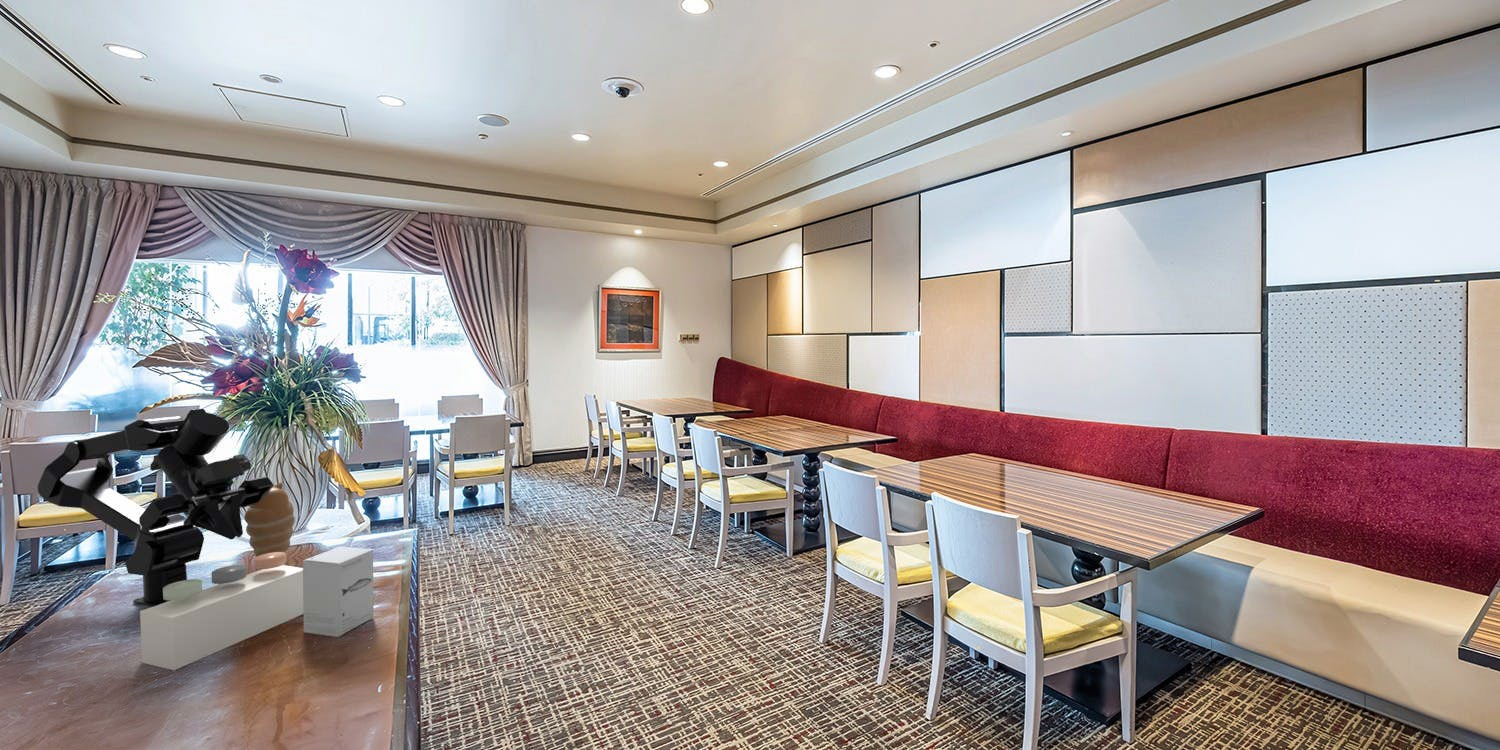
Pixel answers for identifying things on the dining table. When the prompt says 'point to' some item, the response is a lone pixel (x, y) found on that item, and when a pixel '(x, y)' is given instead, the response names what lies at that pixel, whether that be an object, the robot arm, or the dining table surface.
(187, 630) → the button bar
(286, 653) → the dining table surface
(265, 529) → the cat ice cream
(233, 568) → the grey button
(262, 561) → the terracotta button
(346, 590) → the supplement box
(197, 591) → the sage button
